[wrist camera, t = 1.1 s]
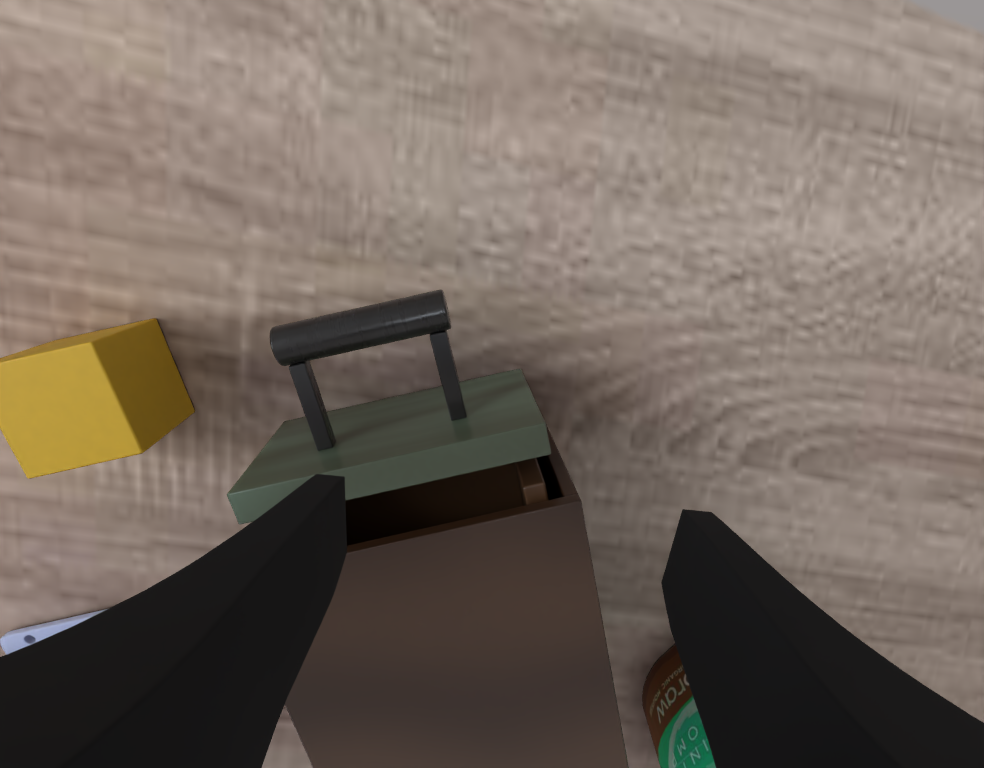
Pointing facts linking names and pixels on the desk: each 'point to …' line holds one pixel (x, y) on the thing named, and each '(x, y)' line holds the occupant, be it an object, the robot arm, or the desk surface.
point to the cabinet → (466, 647)
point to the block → (90, 398)
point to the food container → (674, 716)
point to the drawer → (400, 431)
